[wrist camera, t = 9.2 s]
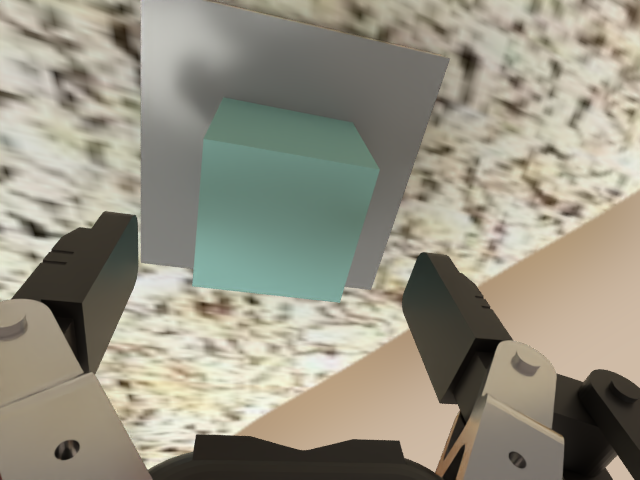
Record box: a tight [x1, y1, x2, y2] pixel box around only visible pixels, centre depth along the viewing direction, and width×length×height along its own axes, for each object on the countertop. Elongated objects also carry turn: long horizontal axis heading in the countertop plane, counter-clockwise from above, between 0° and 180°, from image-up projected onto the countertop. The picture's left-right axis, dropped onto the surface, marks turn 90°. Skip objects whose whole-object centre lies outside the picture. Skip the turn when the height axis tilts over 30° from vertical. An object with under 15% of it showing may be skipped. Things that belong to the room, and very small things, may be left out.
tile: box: [141, 0, 450, 290], centre depth 19 cm, size 12×12×1 cm
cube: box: [192, 97, 380, 303], centre depth 16 cm, size 6×6×6 cm
